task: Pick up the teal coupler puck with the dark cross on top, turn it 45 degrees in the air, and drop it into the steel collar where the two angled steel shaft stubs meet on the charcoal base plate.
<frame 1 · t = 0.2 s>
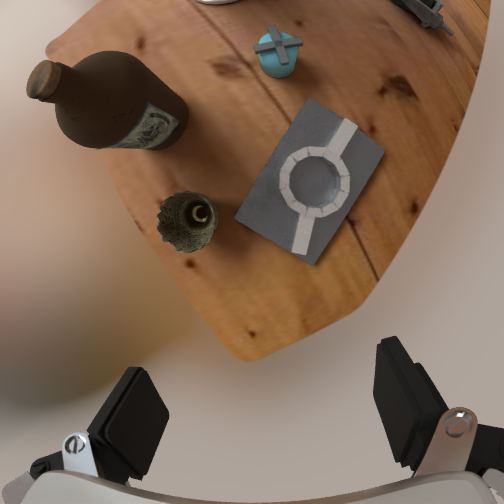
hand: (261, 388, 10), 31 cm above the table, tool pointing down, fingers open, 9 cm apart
cup: (202, 212, 39), on the table
coupler: (277, 63, 32), on the table
olive oil: (159, 120, 36), on the table
caster wheel: (412, 12, 26), on the table
coupling base: (311, 181, 37), on the table
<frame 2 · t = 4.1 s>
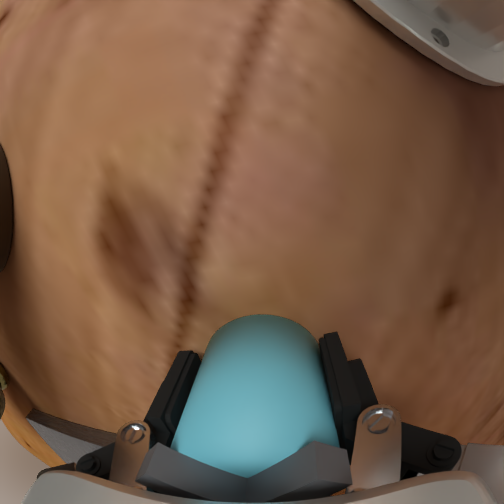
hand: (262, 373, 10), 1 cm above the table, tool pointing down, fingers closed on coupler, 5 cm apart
cup: (1, 367, 15), on the table
coupler: (262, 363, 11), on the table, touching gripper
coupling base: (140, 473, 16), on the table
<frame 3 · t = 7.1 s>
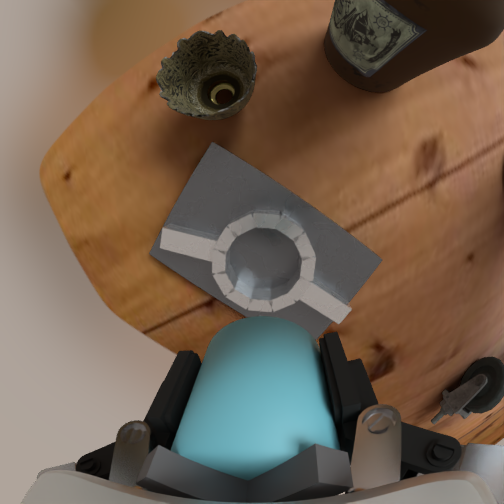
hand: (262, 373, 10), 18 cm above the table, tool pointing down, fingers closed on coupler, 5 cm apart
cup: (224, 97, 24), on the table
coupler: (263, 365, 11), point 17 cm above the table, touching gripper
olive oil: (365, 54, 21), on the table
caster wheel: (459, 381, 31), on the table
coupling base: (265, 252, 28), on the table
when the fingers open (4 cm above the table, at t = 10.1 s): coupler drops 2 cm, resting on coupling base.
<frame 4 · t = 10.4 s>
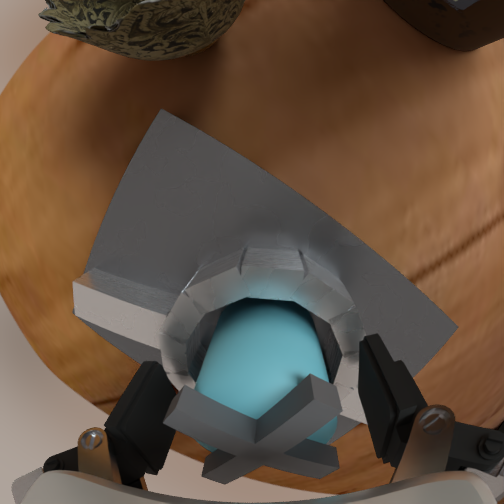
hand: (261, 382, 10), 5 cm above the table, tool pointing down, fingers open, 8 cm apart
cup: (193, 35, 11), on the table
coupler: (265, 336, 13), point 2 cm above the table, touching coupling base
coupling base: (265, 321, 15), on the table
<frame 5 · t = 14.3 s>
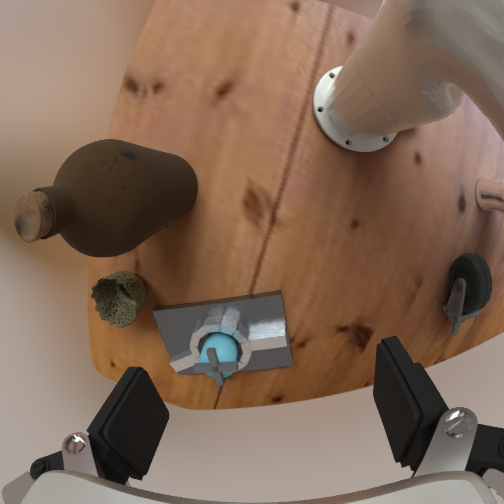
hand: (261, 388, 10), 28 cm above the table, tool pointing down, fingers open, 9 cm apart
cup: (137, 282, 41), on the table
beer glass: (485, 192, 32), on the table
coupler: (222, 341, 40), point 2 cm above the table, touching coupling base
olive oil: (165, 187, 36), on the table
caster wheel: (453, 289, 37), on the table
coupling base: (224, 335, 42), on the table
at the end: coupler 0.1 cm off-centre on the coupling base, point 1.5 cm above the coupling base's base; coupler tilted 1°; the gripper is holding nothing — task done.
